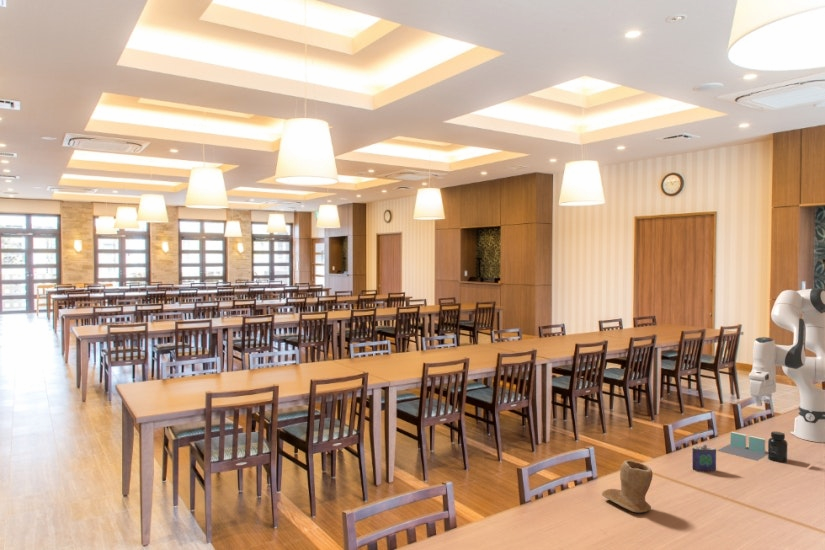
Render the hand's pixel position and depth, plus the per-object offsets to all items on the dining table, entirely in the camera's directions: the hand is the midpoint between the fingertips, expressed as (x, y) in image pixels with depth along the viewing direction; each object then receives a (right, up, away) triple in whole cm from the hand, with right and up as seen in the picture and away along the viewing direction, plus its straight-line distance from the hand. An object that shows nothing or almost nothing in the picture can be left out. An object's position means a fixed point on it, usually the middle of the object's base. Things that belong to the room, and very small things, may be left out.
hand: (763, 404), depth 246 cm
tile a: (-5, -20, -4) cm, 21 cm away
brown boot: (-83, -21, -57) cm, 103 cm away
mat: (-11, -20, -4) cm, 24 cm away
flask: (-40, -21, -25) cm, 52 cm away
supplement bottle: (-3, -21, -15) cm, 26 cm away
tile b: (-10, -20, +2) cm, 22 cm away
